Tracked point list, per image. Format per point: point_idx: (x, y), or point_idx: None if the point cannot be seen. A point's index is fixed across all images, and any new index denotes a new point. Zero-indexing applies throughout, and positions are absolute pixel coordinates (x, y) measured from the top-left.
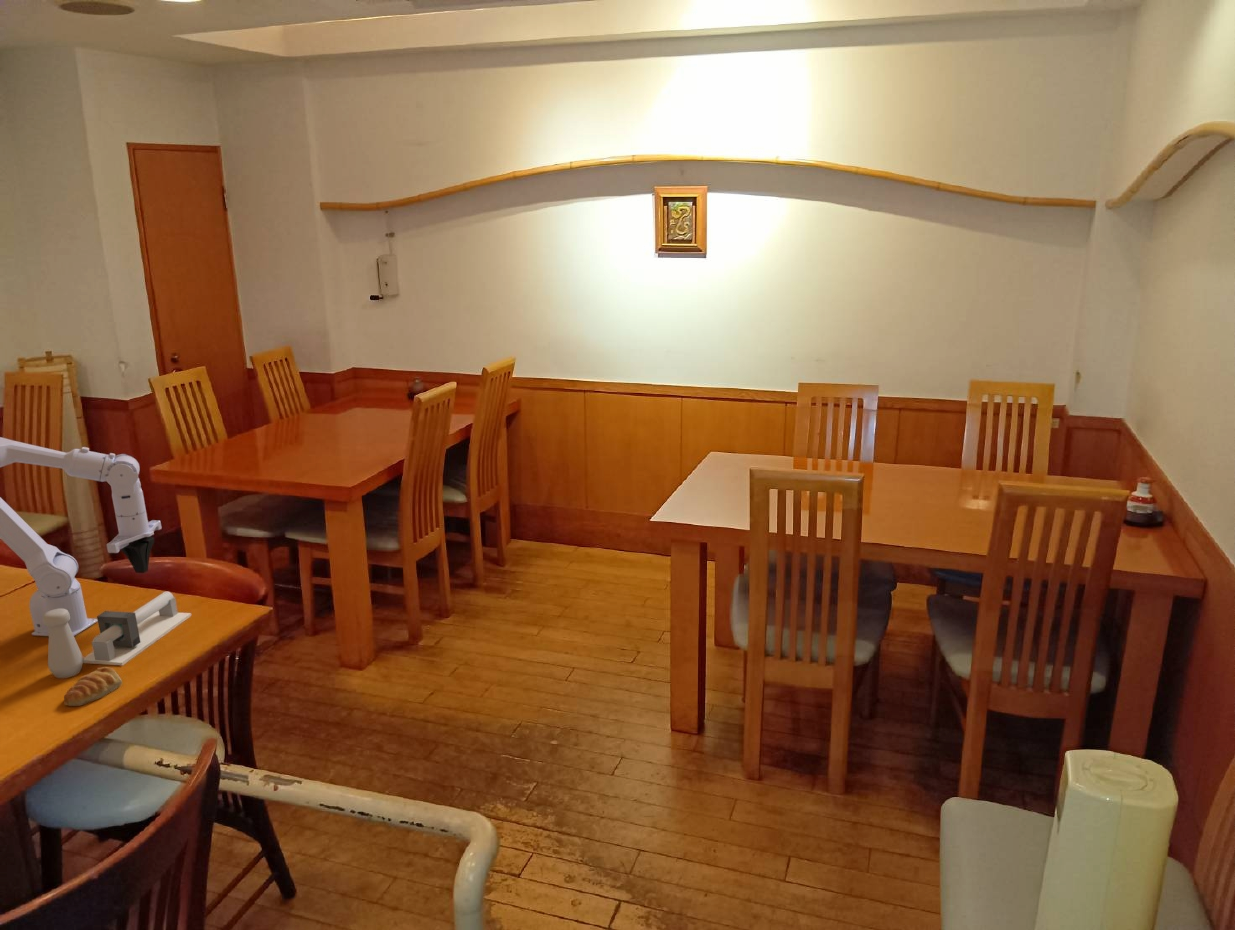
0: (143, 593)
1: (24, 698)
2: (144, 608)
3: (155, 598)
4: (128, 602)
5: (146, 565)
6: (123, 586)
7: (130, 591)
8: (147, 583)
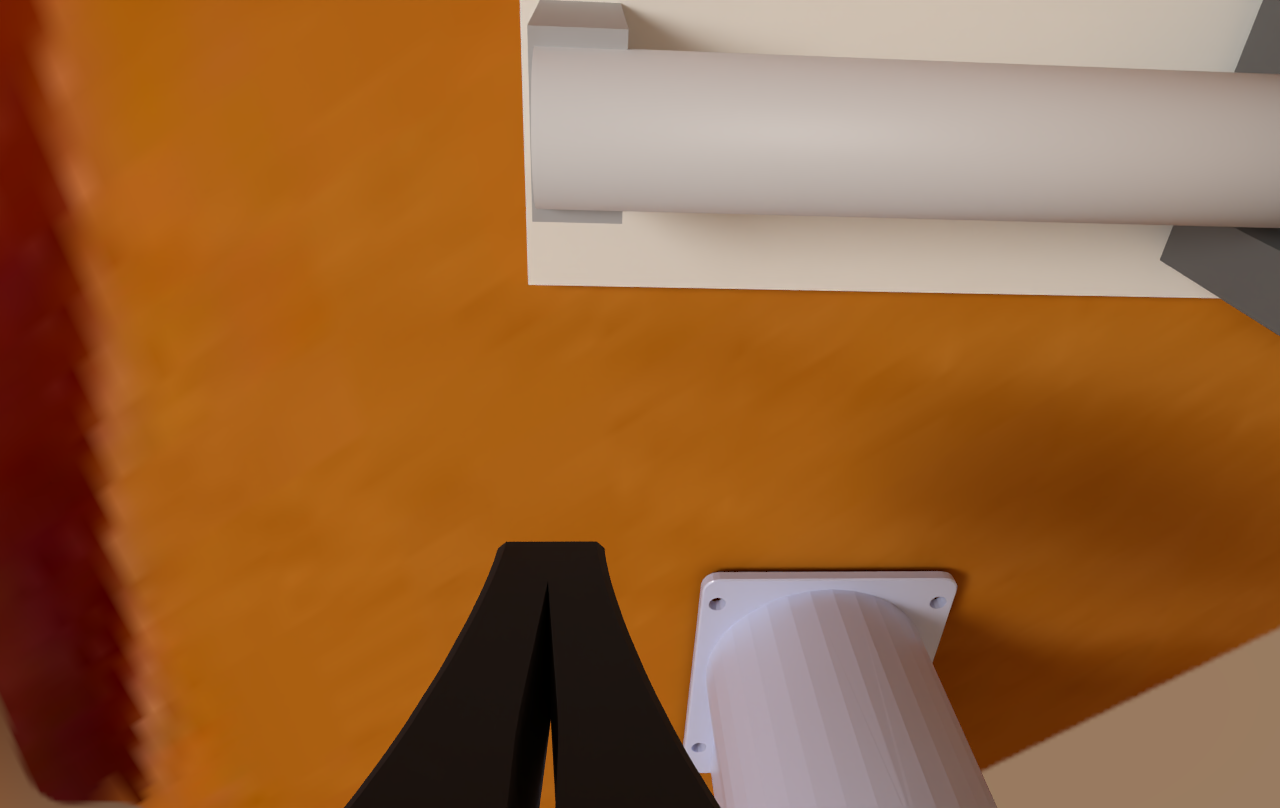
0: (213, 569)
1: None
2: (1050, 127)
3: (763, 166)
4: (382, 572)
5: (540, 603)
6: (170, 733)
7: (219, 658)
8: (55, 639)
